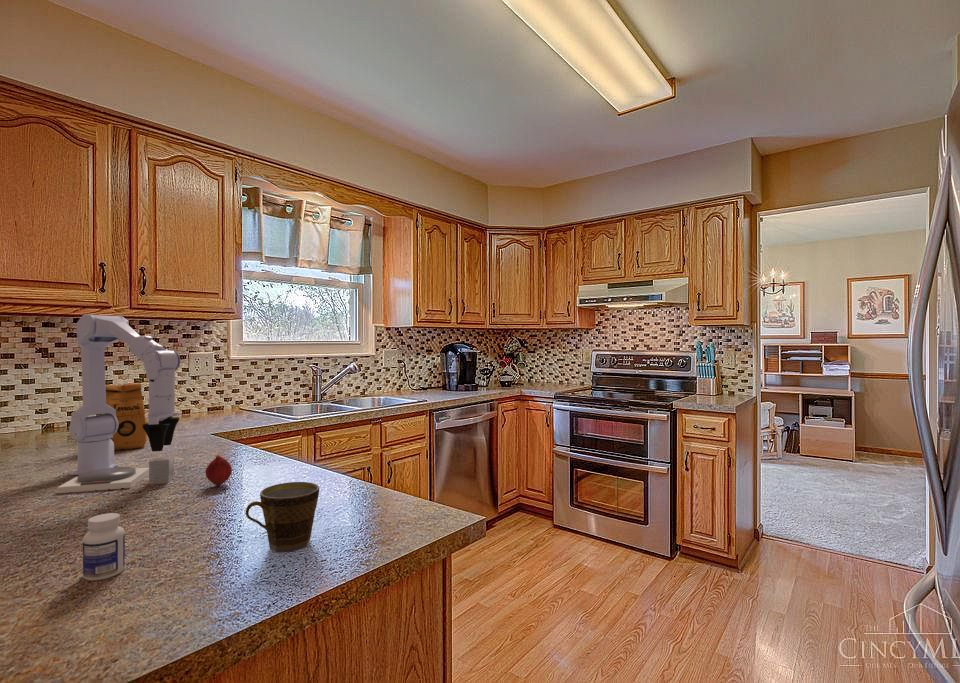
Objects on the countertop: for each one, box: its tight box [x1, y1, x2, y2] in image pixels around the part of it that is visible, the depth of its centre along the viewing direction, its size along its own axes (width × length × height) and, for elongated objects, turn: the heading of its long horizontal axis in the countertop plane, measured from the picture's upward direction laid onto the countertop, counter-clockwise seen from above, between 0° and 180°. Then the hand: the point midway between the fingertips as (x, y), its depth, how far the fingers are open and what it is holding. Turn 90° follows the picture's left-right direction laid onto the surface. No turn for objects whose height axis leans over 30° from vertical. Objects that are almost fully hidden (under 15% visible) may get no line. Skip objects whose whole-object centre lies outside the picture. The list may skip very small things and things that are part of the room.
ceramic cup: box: [245, 481, 320, 553], centre depth 87 cm, size 13×10×10 cm
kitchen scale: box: [57, 466, 149, 494], centre depth 127 cm, size 15×15×2 cm
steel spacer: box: [148, 455, 175, 485], centre depth 129 cm, size 4×4×6 cm
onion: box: [205, 453, 233, 487], centre depth 125 cm, size 6×6×8 cm
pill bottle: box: [82, 512, 126, 582], centre depth 78 cm, size 5×5×9 cm
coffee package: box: [106, 383, 148, 451], centre depth 168 cm, size 10×12×22 cm
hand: (161, 448), depth 129 cm, fingers open, 7 cm apart
